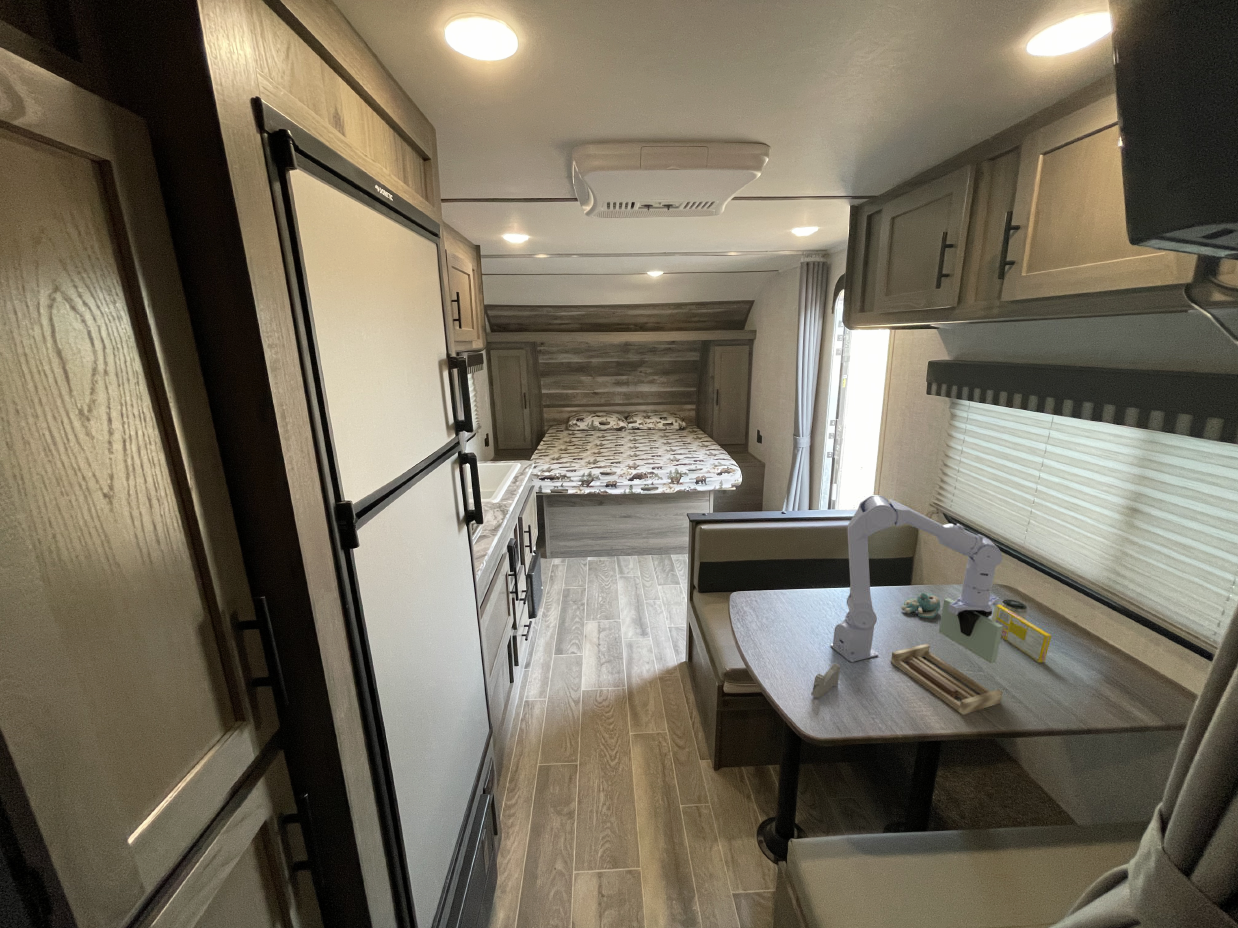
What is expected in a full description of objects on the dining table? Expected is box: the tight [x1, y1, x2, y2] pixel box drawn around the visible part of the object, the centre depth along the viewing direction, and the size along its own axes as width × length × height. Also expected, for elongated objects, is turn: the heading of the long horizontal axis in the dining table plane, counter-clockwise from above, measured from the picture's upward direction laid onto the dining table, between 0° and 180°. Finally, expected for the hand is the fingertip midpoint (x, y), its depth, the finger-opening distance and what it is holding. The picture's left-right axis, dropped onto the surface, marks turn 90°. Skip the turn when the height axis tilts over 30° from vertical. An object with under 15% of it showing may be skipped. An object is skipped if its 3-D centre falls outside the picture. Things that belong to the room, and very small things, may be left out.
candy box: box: [991, 604, 1052, 663], centre depth 135 cm, size 16×2×8 cm, turn 4°
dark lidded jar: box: [1000, 598, 1029, 621], centre depth 144 cm, size 6×6×8 cm
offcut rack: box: [890, 643, 1003, 716], centre depth 121 cm, size 12×20×3 cm, turn 18°
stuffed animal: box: [901, 592, 941, 619], centre depth 153 cm, size 11×7×12 cm
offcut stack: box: [908, 660, 958, 699], centre depth 120 cm, size 2×12×3 cm, turn 18°
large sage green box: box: [938, 597, 1003, 664], centre depth 123 cm, size 2×14×10 cm, turn 17°
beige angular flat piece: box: [810, 662, 841, 699], centre depth 118 cm, size 6×1×10 cm
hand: (968, 633), depth 124 cm, fingers closed on large sage green box, 2 cm apart
